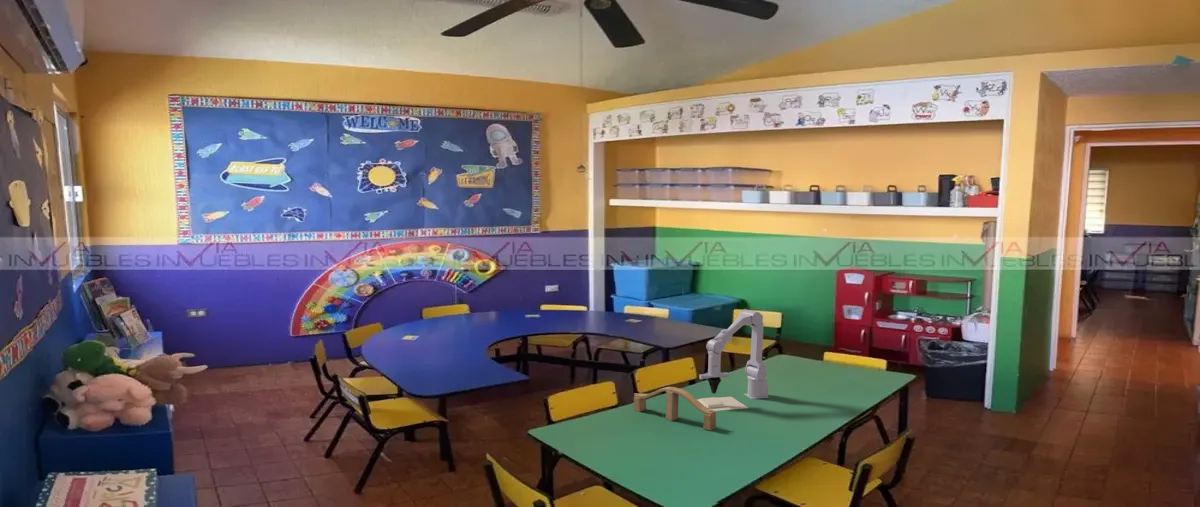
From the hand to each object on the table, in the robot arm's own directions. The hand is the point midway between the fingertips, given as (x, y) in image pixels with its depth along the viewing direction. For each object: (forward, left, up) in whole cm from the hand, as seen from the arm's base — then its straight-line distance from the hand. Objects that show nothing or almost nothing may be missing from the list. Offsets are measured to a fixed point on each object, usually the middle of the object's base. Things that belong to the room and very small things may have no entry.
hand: (713, 392), depth 338 cm
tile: (-3, 0, -5) cm, 6 cm away
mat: (-3, 0, -6) cm, 7 cm away
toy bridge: (+26, +13, -6) cm, 30 cm away
